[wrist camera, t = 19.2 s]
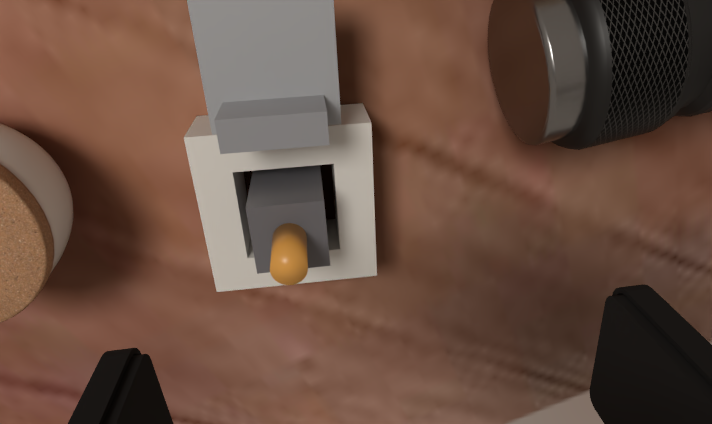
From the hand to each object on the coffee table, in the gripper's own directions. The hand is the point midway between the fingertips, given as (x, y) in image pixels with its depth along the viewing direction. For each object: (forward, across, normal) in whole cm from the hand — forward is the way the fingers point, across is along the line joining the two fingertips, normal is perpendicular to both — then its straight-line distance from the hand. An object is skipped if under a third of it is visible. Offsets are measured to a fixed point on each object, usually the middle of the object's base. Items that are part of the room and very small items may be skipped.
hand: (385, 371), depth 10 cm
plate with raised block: (+18, +3, -3) cm, 19 cm away
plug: (+23, +3, +5) cm, 24 cm away
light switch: (+23, +3, +5) cm, 24 cm away
